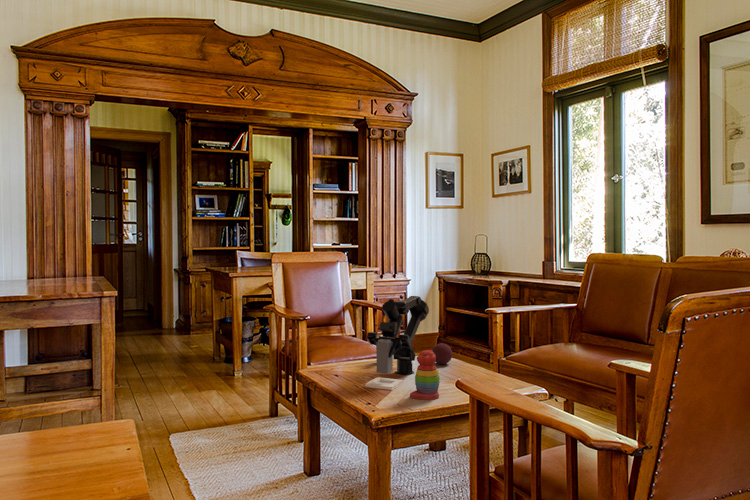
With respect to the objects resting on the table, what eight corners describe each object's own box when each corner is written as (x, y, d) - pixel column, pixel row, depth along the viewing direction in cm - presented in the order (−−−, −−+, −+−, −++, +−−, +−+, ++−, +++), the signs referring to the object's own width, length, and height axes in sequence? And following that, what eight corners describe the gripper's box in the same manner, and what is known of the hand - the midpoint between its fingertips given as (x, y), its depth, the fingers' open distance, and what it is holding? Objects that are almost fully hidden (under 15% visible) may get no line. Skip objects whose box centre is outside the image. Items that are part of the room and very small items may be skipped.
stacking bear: (423, 391, 216) (423, 346, 216) (445, 395, 210) (445, 349, 209) (407, 397, 208) (407, 350, 208) (429, 402, 201) (429, 354, 201)
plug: (376, 372, 224) (376, 340, 224) (381, 369, 229) (381, 338, 229) (387, 373, 222) (387, 341, 222) (392, 371, 227) (392, 339, 227)
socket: (365, 386, 223) (365, 383, 223) (377, 379, 234) (377, 377, 234) (392, 390, 218) (392, 387, 218) (403, 382, 229) (403, 380, 228)
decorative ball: (453, 366, 258) (453, 345, 258) (432, 366, 258) (432, 345, 258) (450, 361, 268) (451, 341, 268) (430, 361, 268) (430, 341, 268)
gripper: (368, 313, 233) (356, 343, 223) (408, 315, 225) (398, 347, 215) (376, 328, 240) (365, 358, 230) (415, 331, 232) (406, 362, 222)
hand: (383, 356), depth 224 cm, fingers closed on plug, 5 cm apart
